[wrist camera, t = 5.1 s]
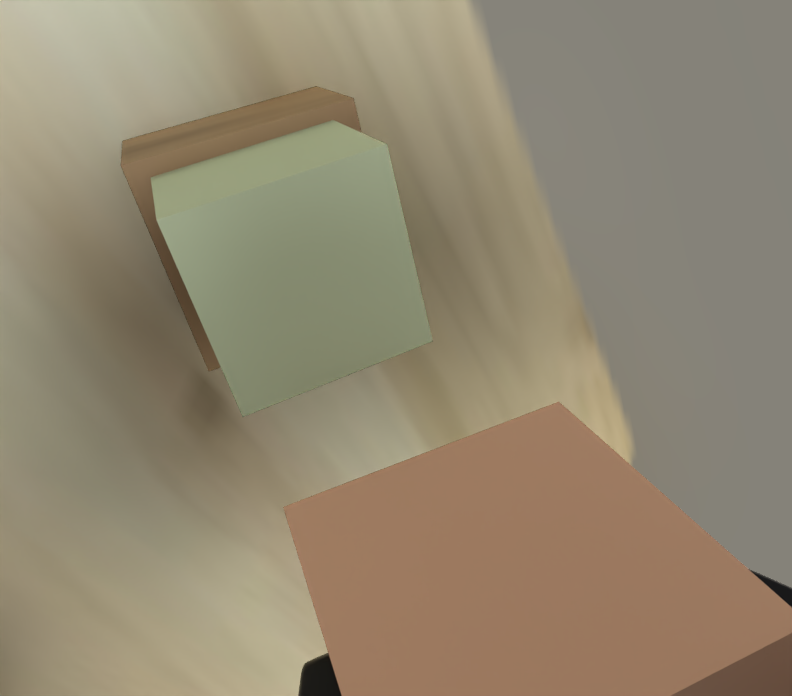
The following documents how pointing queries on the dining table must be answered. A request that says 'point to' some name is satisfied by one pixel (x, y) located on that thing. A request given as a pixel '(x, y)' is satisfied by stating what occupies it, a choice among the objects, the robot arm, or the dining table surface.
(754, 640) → the terracotta block
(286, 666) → the dining table surface
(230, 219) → the sage block
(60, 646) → the dining table surface
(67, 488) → the dining table surface
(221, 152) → the walnut block
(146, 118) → the dining table surface
